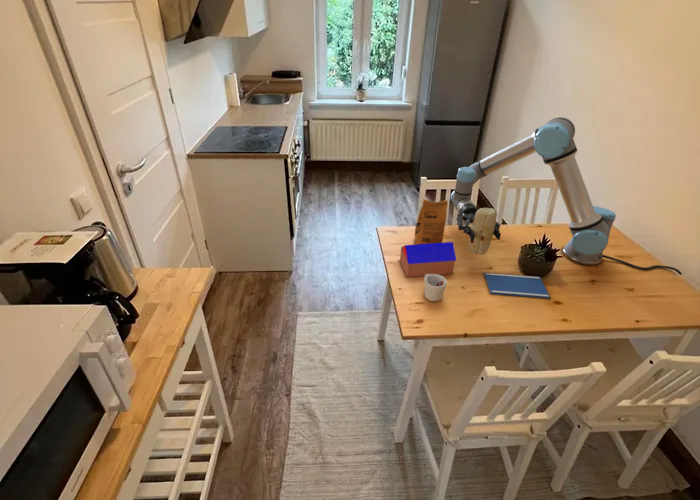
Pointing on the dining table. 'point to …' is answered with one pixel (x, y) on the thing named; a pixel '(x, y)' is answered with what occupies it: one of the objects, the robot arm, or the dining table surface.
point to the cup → (434, 286)
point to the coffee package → (431, 222)
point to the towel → (516, 285)
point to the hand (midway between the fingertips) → (486, 237)
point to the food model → (483, 230)
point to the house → (428, 259)
